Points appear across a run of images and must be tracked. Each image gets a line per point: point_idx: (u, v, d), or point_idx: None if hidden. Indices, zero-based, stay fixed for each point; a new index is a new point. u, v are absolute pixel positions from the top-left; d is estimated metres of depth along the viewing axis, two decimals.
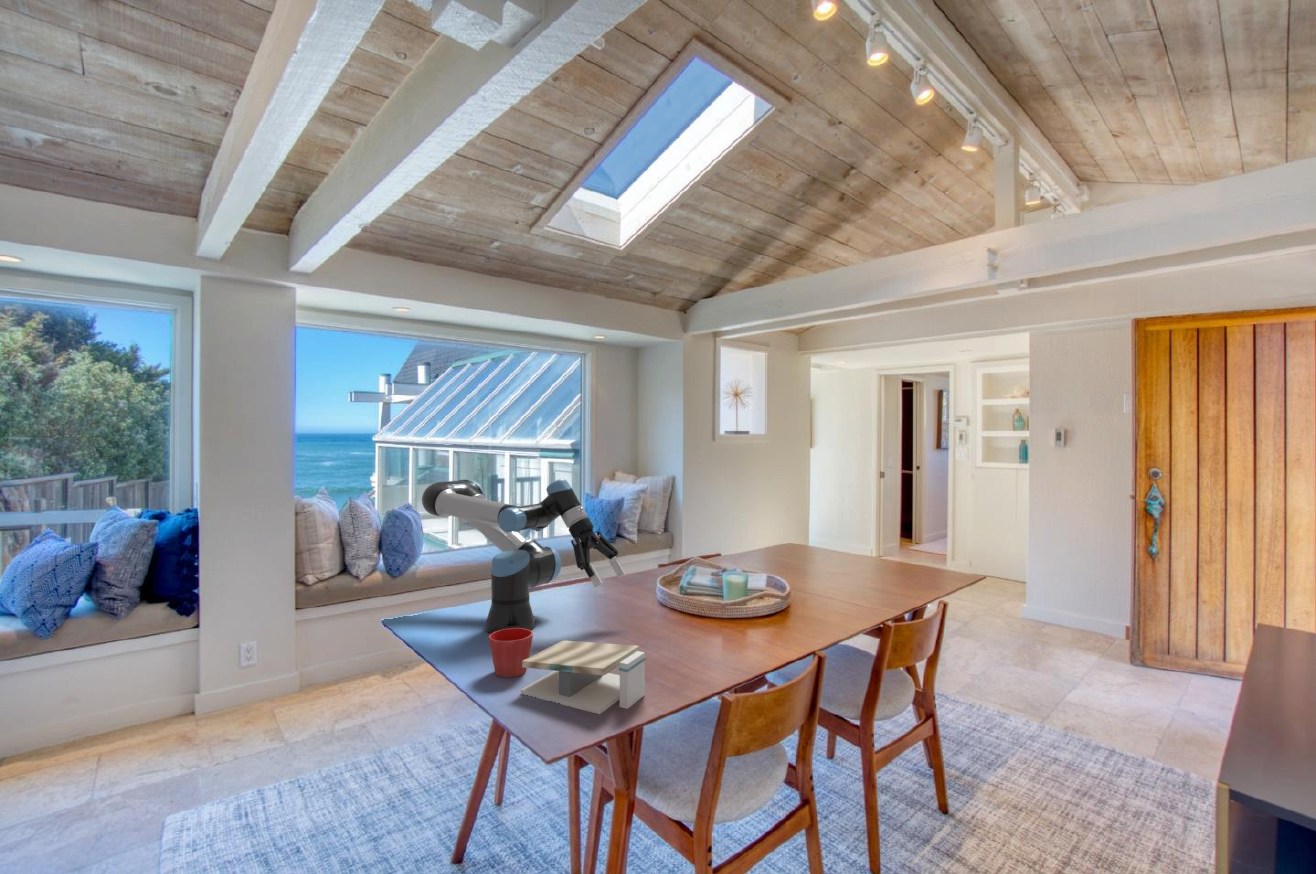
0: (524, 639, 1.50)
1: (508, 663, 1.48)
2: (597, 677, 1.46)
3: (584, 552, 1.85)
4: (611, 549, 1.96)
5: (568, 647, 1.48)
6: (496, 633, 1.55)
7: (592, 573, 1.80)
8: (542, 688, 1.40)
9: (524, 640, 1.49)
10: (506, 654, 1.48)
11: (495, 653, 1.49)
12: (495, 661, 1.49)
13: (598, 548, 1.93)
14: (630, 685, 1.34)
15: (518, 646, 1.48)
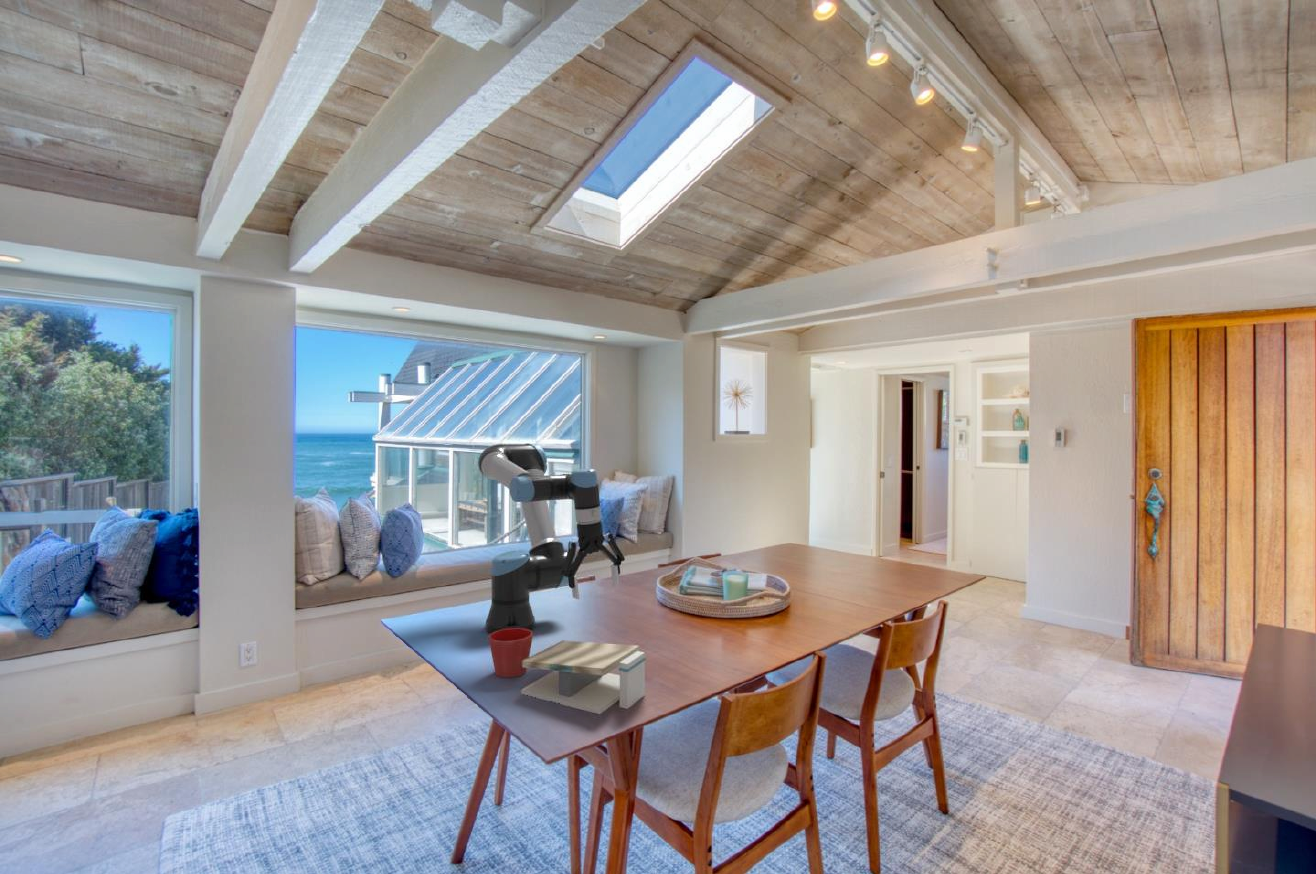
0: (524, 639, 1.50)
1: (508, 663, 1.48)
2: (597, 677, 1.46)
3: (577, 559, 1.73)
4: (617, 555, 1.80)
5: (568, 647, 1.48)
6: (496, 633, 1.55)
7: (572, 586, 1.72)
8: (542, 688, 1.40)
9: (524, 640, 1.49)
10: (506, 654, 1.48)
11: (495, 653, 1.49)
12: (495, 661, 1.49)
13: (602, 551, 1.79)
14: (630, 685, 1.34)
15: (518, 646, 1.48)
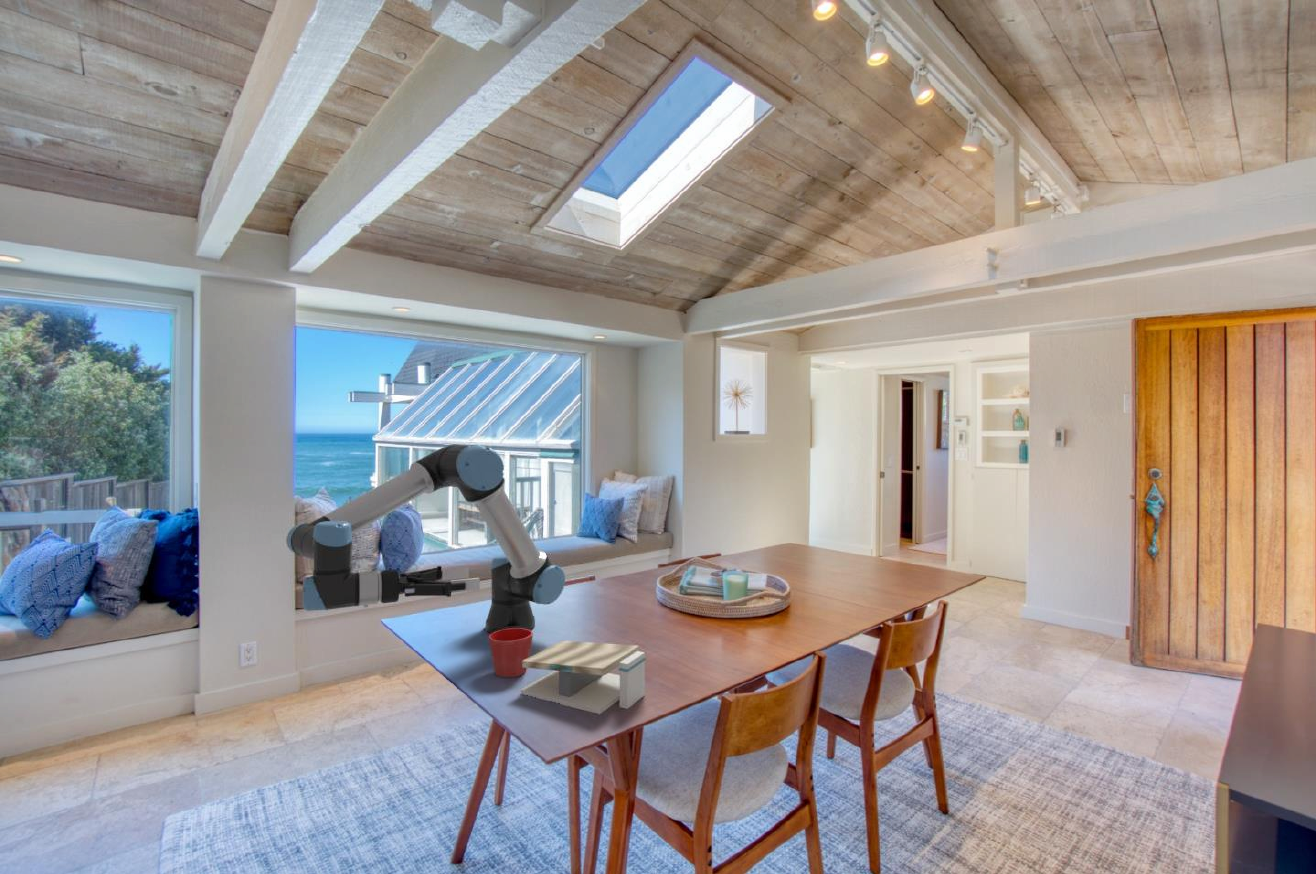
0: (524, 639, 1.50)
1: (508, 663, 1.48)
2: (597, 677, 1.46)
3: None
4: None
5: (568, 647, 1.48)
6: (496, 633, 1.55)
7: None
8: (542, 688, 1.40)
9: (524, 640, 1.49)
10: (506, 654, 1.48)
11: (495, 653, 1.49)
12: (495, 661, 1.49)
13: None
14: (630, 685, 1.34)
15: (518, 646, 1.48)
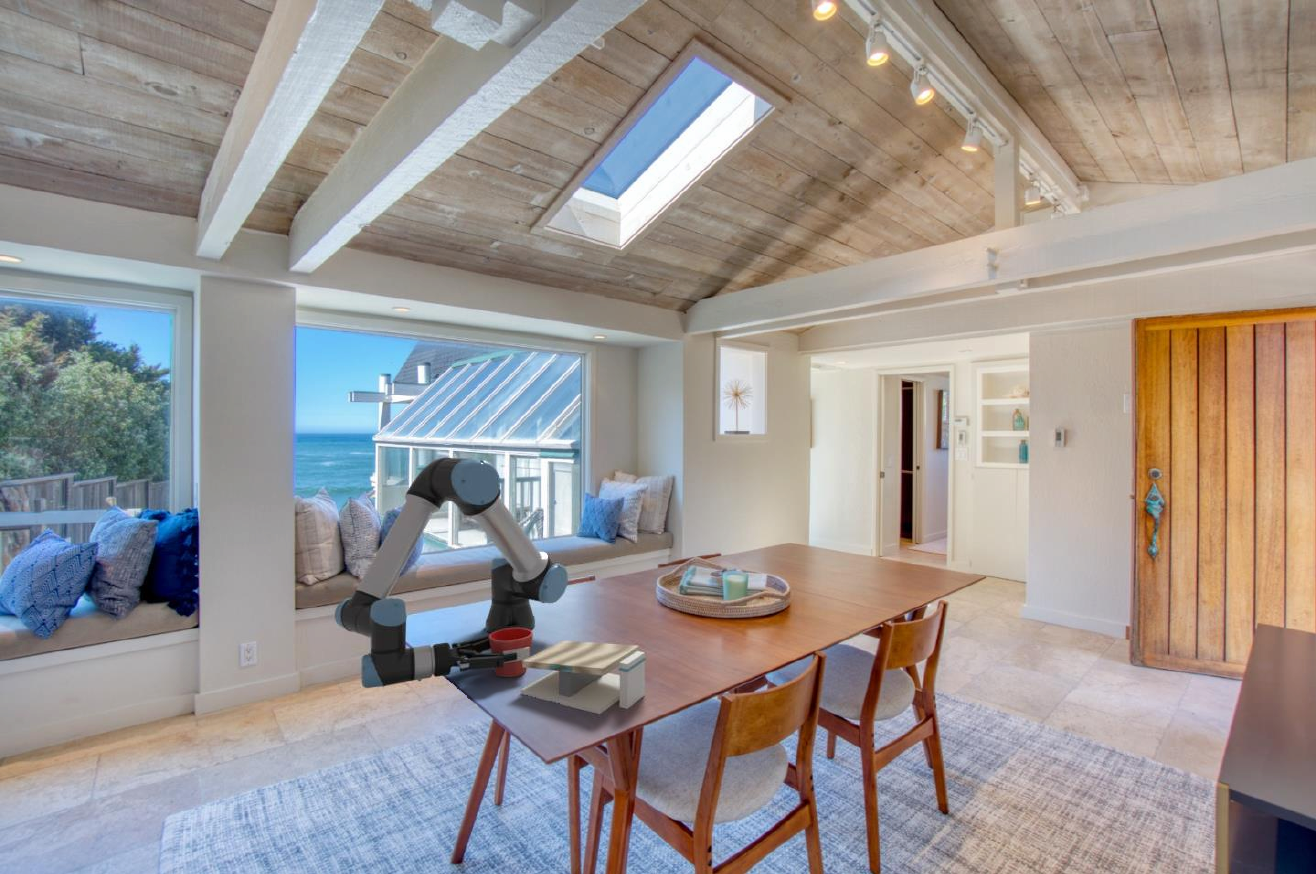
0: (524, 639, 1.50)
1: (508, 663, 1.48)
2: (597, 677, 1.46)
3: None
4: None
5: (568, 647, 1.48)
6: (496, 633, 1.55)
7: None
8: (542, 688, 1.40)
9: (524, 639, 1.49)
10: None
11: None
12: None
13: None
14: (630, 685, 1.34)
15: (518, 645, 1.49)
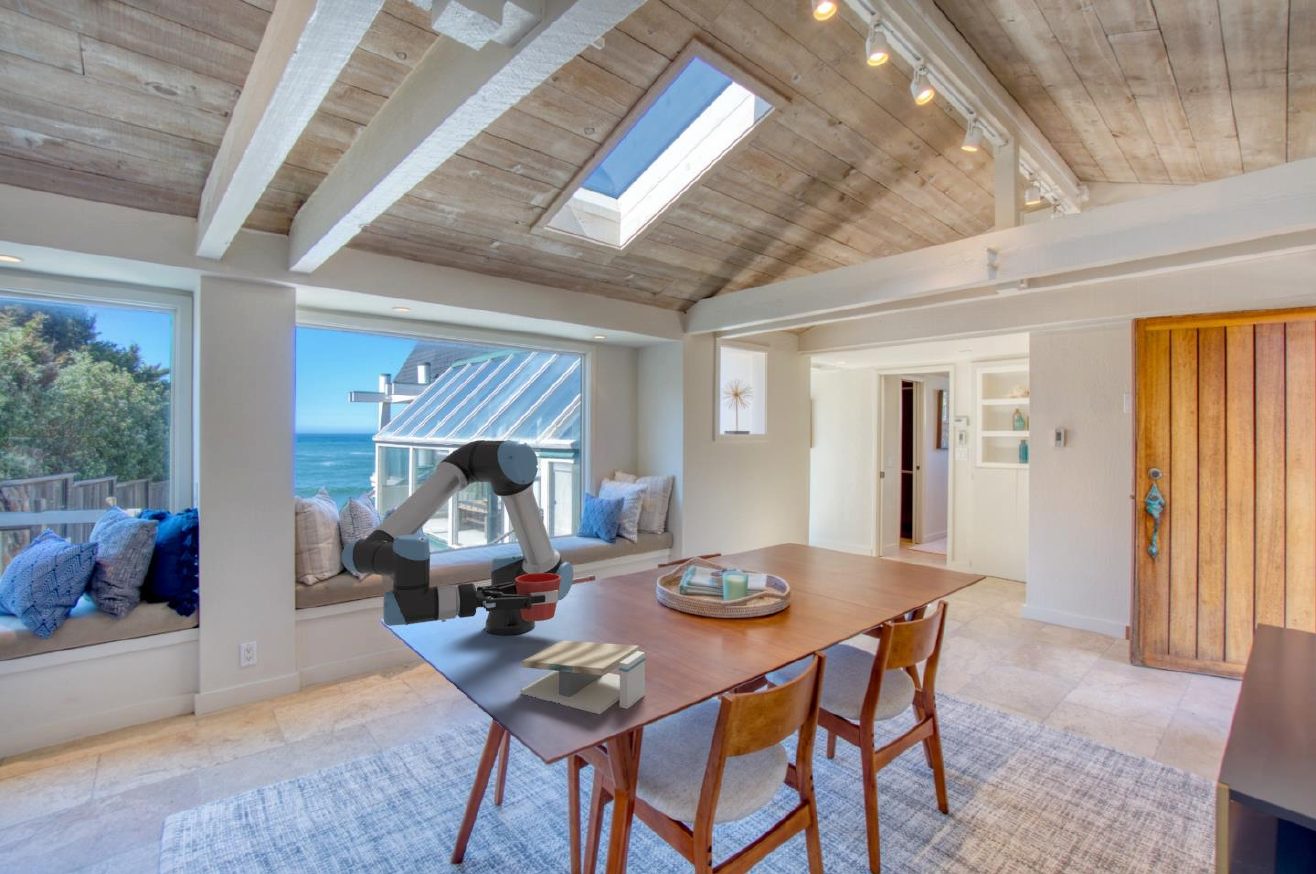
0: (552, 581, 1.42)
1: (535, 606, 1.41)
2: (597, 677, 1.46)
3: None
4: None
5: (568, 647, 1.48)
6: (522, 577, 1.48)
7: None
8: (542, 688, 1.40)
9: (552, 582, 1.42)
10: None
11: None
12: None
13: None
14: (630, 685, 1.34)
15: (546, 588, 1.41)
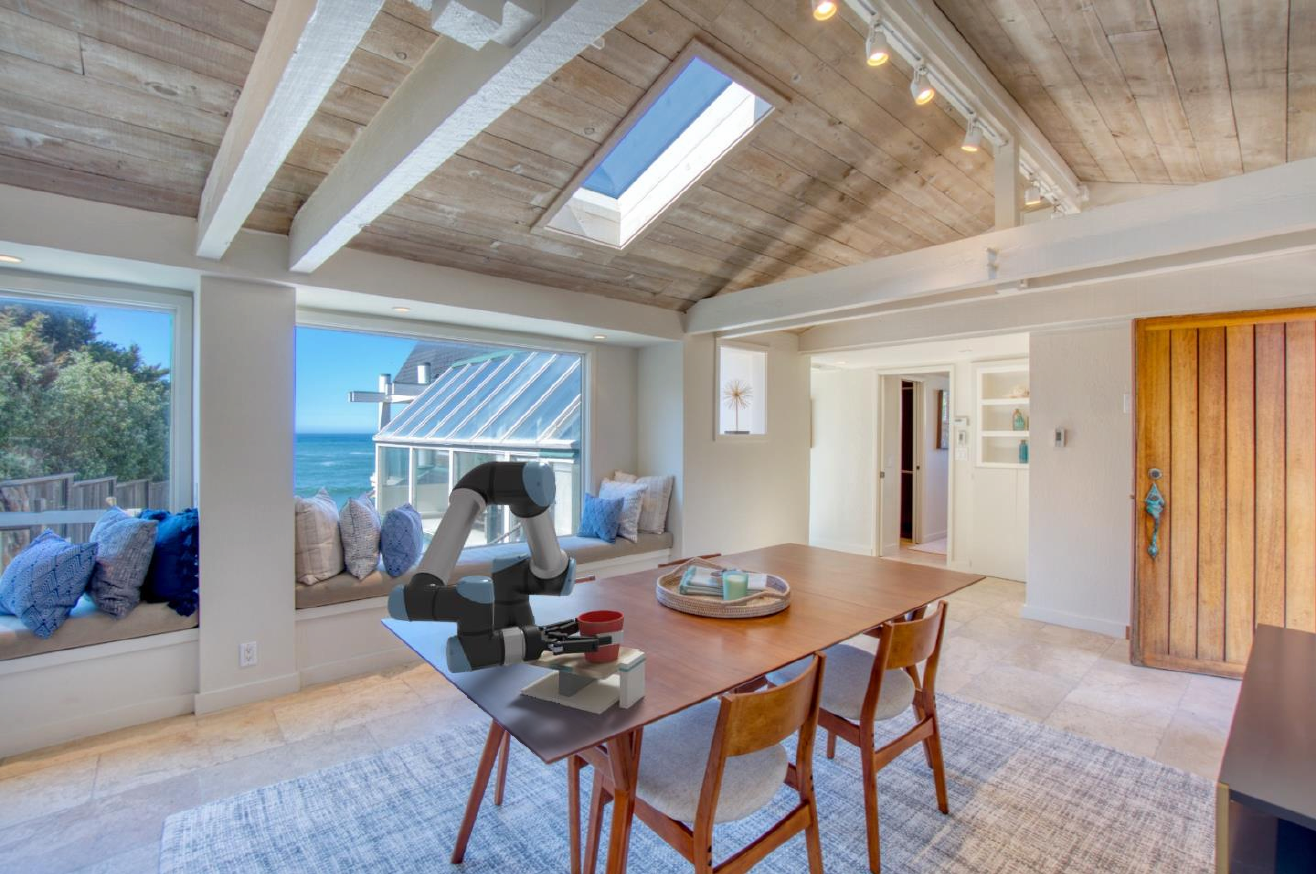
0: (617, 620, 1.37)
1: (601, 647, 1.35)
2: None
3: None
4: None
5: None
6: (583, 615, 1.42)
7: None
8: (542, 688, 1.40)
9: (617, 621, 1.37)
10: None
11: None
12: None
13: None
14: (630, 685, 1.34)
15: (611, 628, 1.36)
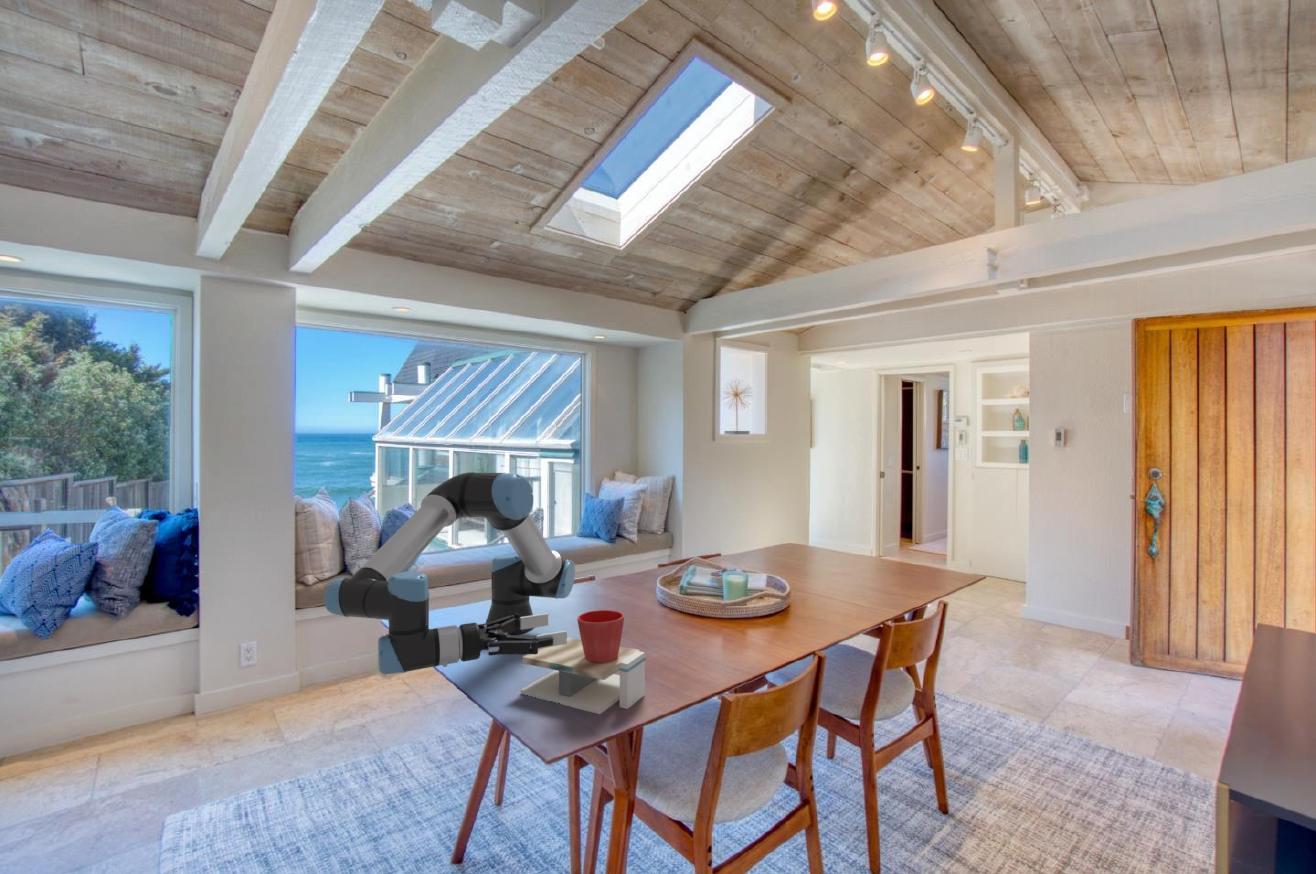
0: (617, 620, 1.37)
1: (601, 647, 1.35)
2: None
3: None
4: None
5: (569, 645, 1.48)
6: (583, 615, 1.42)
7: None
8: (542, 688, 1.40)
9: (617, 621, 1.37)
10: (599, 637, 1.35)
11: (586, 636, 1.36)
12: (586, 645, 1.37)
13: None
14: (630, 685, 1.34)
15: (611, 628, 1.36)
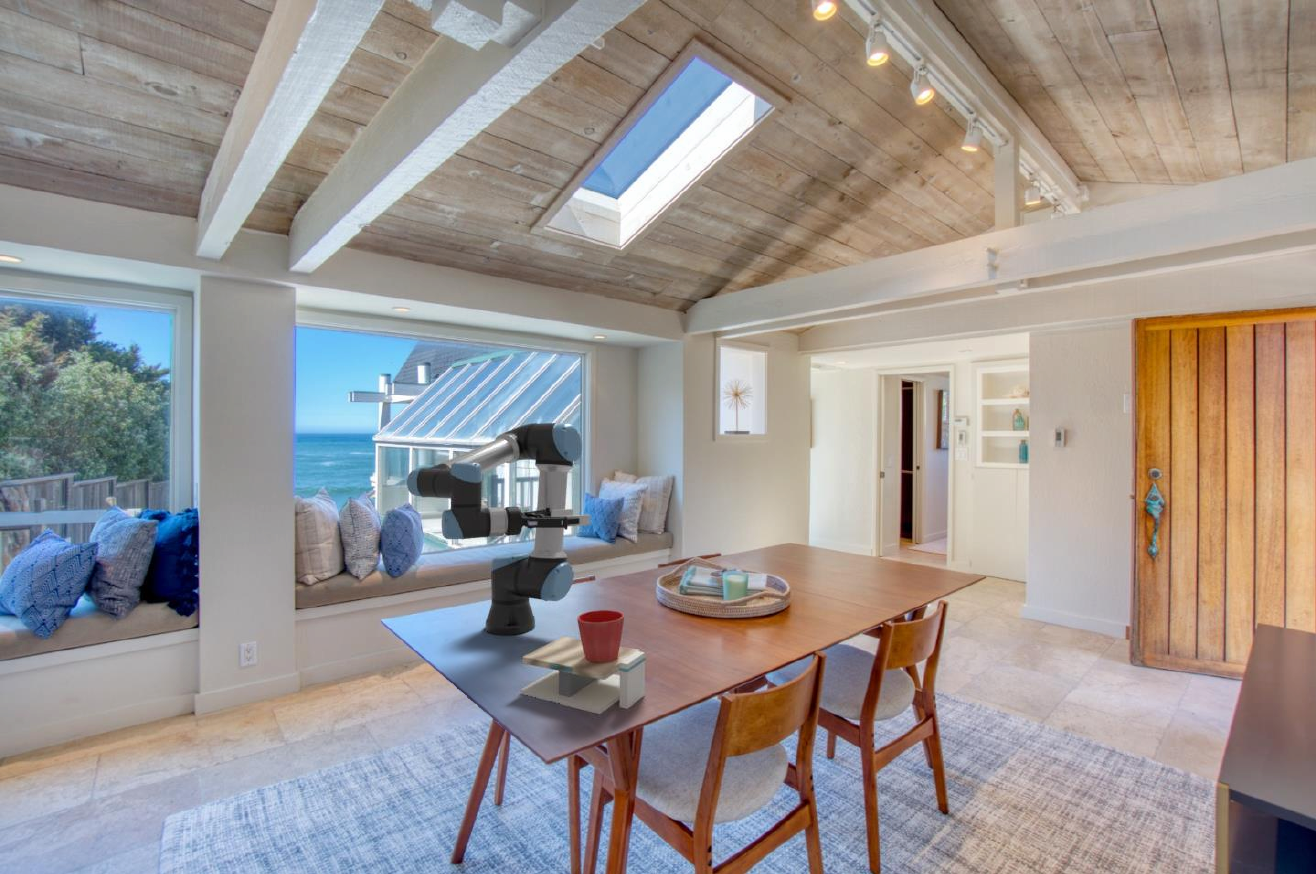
0: (617, 620, 1.37)
1: (601, 647, 1.35)
2: None
3: None
4: None
5: (569, 645, 1.48)
6: (583, 615, 1.42)
7: None
8: (542, 688, 1.40)
9: (617, 621, 1.37)
10: (599, 637, 1.35)
11: (586, 636, 1.36)
12: (586, 645, 1.37)
13: None
14: (630, 685, 1.34)
15: (611, 628, 1.36)
